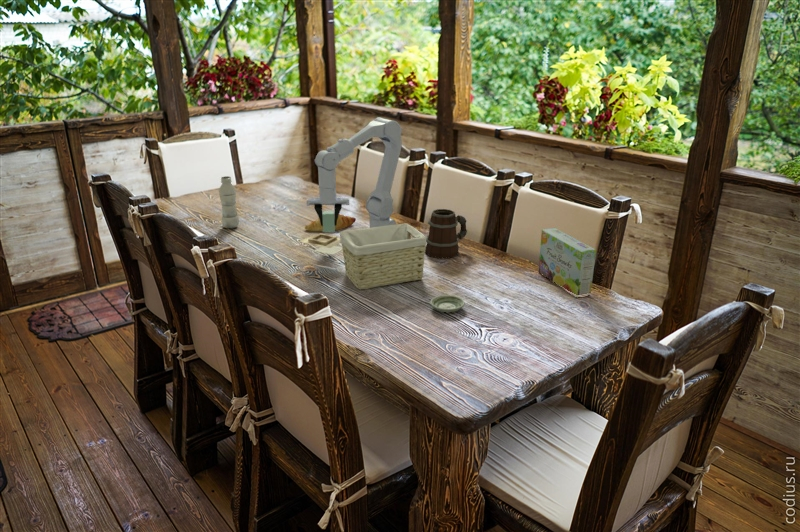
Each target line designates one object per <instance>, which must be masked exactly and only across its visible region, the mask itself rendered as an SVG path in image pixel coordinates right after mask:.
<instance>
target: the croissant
mask: <svg viewBox="0 0 800 532" xmlns="http://www.w3.org/2000/svg"><path fill="white" fill-rule="evenodd" d="M334 213H335V211H334ZM356 221H357V218H356V217H354V216H352V217H351V216H350V215H349V216H348V215H344V214H340V213H339V215H338V219H337V226H335V231H337V230H342V229H344V228H348V227H350V226H352V225H353V224H354V223H355V222H356ZM304 229H305V231H307V232H323V226H321V223H320V219H319V217H318V218H317V219H316V220H313V221H311V222H310V223H309V224H307V225H305V226H304Z"/></svg>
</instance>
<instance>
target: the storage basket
mask: <svg viewBox="0 0 800 532" xmlns="http://www.w3.org/2000/svg"><path fill="white" fill-rule="evenodd" d="M412 237H413V238H412ZM339 238H340V242H341V243H340V244H341V247H342V249H343V250H342V255H343V263H344V270H345V271H344V272H345V275H346V277H347V278H348V279H349V281H350V282H352V285H354V286H355V288H356V289H359V290H368V289H372V288H378V287H385V286H390V285H396V284H397V285H398V284H403V283H409V282H411V281H412V282H413V281H415V282H416V281H418V280H423V278H424V277H423V276H424V268H425V267H424V265H425V254H426V253H425V250H426V245H427V242H426V238H427V236H425V235H424V234H423V233H422V232H420V231H419V230H418V229H417V228H415V227H414V226H412V225H410V224H409V223H406V222H405V223H400V224H399V223H398V224H397V223H396V225H388V226H381V227H373V228H370V227H367V228H357V229H349V230H342V231H340V232H339Z"/></svg>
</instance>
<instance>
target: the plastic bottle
mask: <svg viewBox="0 0 800 532" xmlns="http://www.w3.org/2000/svg"><path fill="white" fill-rule="evenodd" d="M220 180H221V181H220V183H221V185H220V186H219V189H218V194H219V199H220V203H221V214H222V215H221V224H222V226H223V228H226V229H234V228H237V227H239V224H240V218H239V216H238V211H237V204H236V202H237V201H236V200H237V199H236V198H237V197H236V196H237V190H236V187H235V186H234V184H232V177H231V176H221V177H220Z"/></svg>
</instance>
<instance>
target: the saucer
mask: <svg viewBox="0 0 800 532" xmlns="http://www.w3.org/2000/svg"><path fill="white" fill-rule="evenodd" d="M465 303H466V302H465V300H464V299H463V298H461V297H459V296H456V295H452V294H445V295H444V294H442V295H437V296H434V297H432V298H431V299H430V303H429V304H430V305H431V307H433V309H435V310H436V311H439V312H440V313H444V312H452V313H455V312H458V311H459V310H461V309H462V308H463V307H464V306H465Z"/></svg>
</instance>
